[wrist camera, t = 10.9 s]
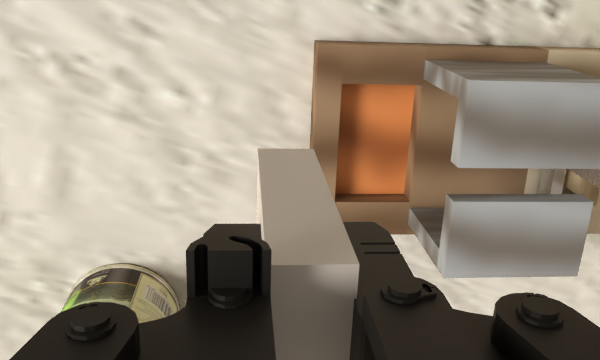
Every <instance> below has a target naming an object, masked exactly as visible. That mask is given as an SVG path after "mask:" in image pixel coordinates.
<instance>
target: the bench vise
mask: <svg viewBox="0 0 600 360" xmlns="http://www.w3.org/2000/svg"><path fill="white" fill-rule="evenodd" d="M310 149H314V151H315V154H316V156H317V159H318V161H319V164H320V166H321V169H322V171H323V174H324V176H325V179H326V181H327V184H328V186H329V189H330V191H331V194H332V197H333V199H334V202H335V204H336V207H337V209H338V212H339V214H340V217H341V219H342V222H375V223H377V224H378V225H380V226H381V227H383V228H384V229H386V230H387V231H389V233H390V234H415V236H416V237H417V239H418V240H419V242H420V243H421V245H422V246H423V248H424V249H425V251H426V252H427V254H428V255H429V257H430V258H431V260H432V261H433V263H434V264H435V266H436V267H437V269H438V270H439V272H440V273H441V275H442V276H443V278H476V277H556V276H577V275H578V271H579V266H580V262H581V257H582V252H583V248H584V243H585V239H586V234H587V233H600V207H593V203H594V202H593V201H592V200H590V199H588V198H587V197H585V196H584V195H582V194H537V191H538V186H539V180H540V175H541V169H600V48H565V47H529V46H494V45H459V44H423V43H388V42H353V41H317V40H315V43H314V66H313V89H312V112H311V135H310ZM563 187H565V186H563Z"/></svg>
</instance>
